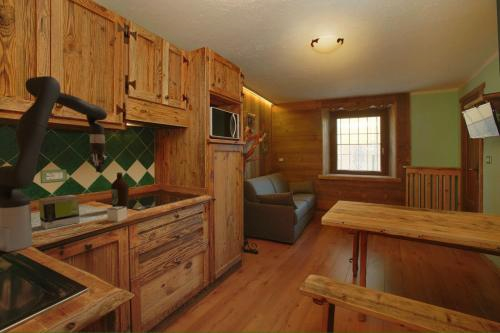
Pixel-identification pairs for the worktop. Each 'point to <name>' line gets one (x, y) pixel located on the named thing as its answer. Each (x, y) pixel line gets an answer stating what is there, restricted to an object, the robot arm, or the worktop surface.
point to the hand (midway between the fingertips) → (98, 172)
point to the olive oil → (120, 192)
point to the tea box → (59, 211)
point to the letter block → (117, 213)
